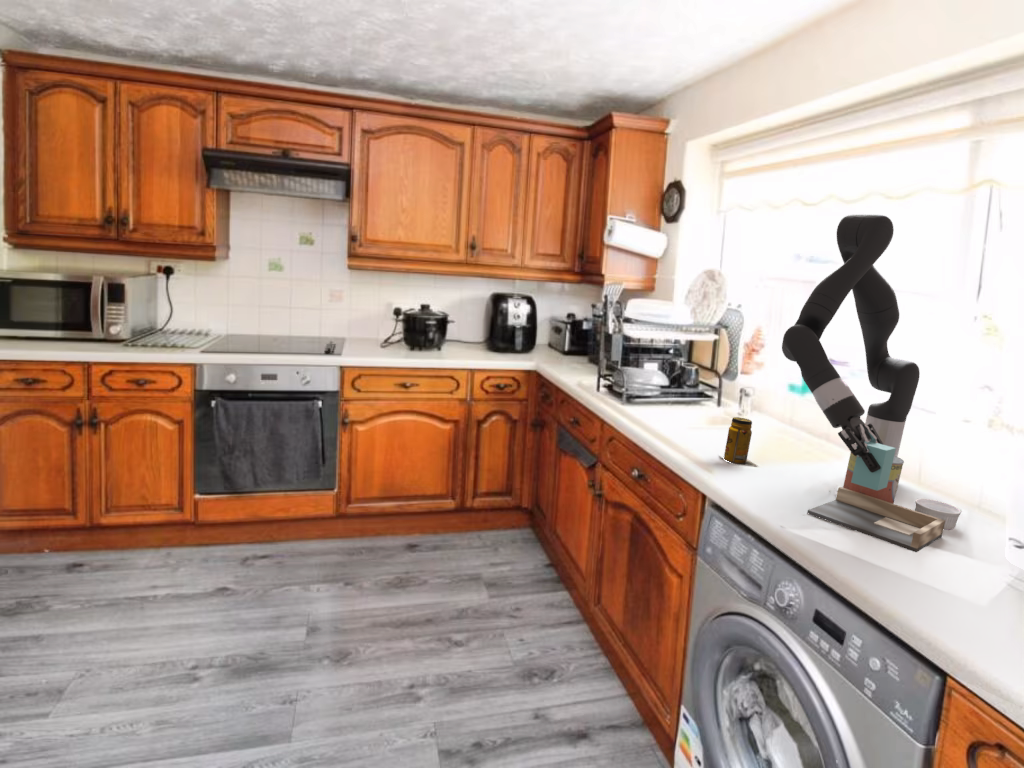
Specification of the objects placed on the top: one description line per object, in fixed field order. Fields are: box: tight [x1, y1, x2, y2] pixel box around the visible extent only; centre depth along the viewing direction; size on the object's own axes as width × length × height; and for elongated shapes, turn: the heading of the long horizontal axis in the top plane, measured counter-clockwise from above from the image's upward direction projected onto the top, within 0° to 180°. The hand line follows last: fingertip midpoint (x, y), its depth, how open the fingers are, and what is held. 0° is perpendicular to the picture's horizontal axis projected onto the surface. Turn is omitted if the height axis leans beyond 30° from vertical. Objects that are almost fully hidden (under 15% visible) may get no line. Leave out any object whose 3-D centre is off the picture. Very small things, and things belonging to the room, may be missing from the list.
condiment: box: [723, 416, 759, 467], centre depth 184 cm, size 7×8×12 cm
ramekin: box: [914, 498, 962, 531], centre depth 151 cm, size 9×9×4 cm
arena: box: [806, 486, 946, 553], centre depth 145 cm, size 16×22×4 cm
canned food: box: [842, 451, 905, 504], centre depth 159 cm, size 11×11×12 cm
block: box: [851, 442, 896, 491], centre depth 147 cm, size 6×6×9 cm
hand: (881, 468), depth 145 cm, fingers closed on block, 5 cm apart
